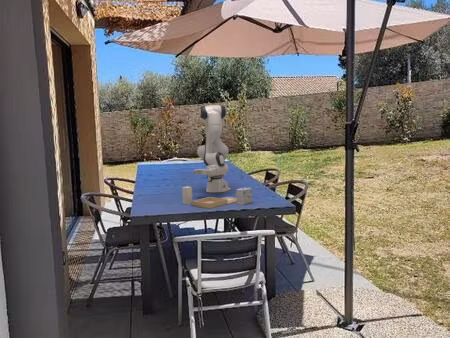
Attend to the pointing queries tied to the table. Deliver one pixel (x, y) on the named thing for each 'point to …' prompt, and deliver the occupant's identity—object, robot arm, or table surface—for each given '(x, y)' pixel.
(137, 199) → the table surface
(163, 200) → the table surface
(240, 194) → the light bulb box
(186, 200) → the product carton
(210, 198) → the tray
